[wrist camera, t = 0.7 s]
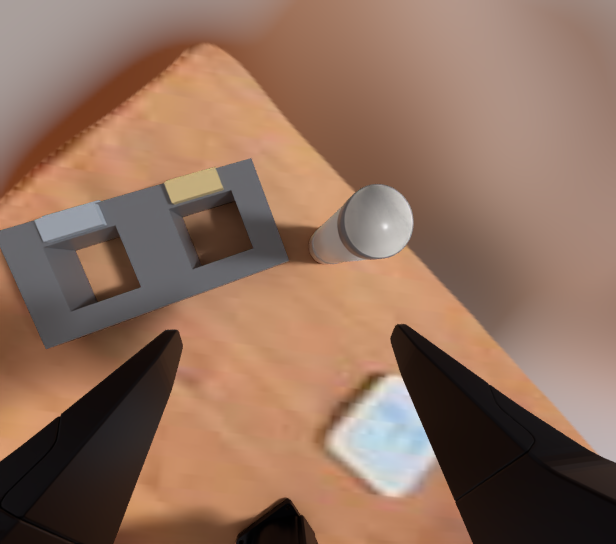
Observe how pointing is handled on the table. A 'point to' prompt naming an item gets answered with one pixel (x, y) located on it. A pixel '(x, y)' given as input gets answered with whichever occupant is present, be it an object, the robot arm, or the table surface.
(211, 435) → the table surface
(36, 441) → the robot arm
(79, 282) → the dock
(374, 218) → the white dome-top cylinder
